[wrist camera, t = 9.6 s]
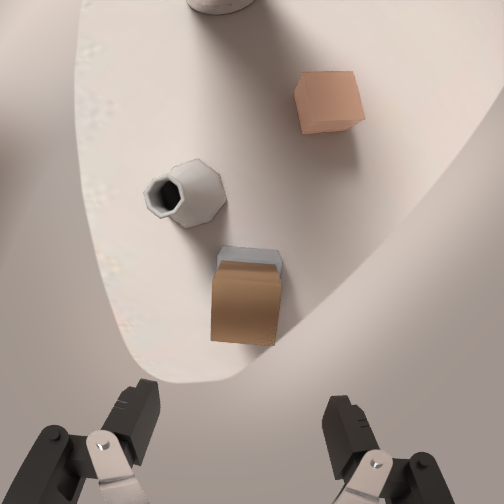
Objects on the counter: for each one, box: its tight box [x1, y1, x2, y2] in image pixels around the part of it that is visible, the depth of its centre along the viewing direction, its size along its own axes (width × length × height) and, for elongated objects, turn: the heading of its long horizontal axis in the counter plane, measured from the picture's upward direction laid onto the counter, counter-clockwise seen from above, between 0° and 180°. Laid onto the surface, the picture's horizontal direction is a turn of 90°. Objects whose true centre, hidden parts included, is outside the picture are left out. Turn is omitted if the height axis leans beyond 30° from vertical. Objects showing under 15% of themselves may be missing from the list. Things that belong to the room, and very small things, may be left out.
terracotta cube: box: [294, 71, 365, 134], centre depth 24 cm, size 5×5×6 cm
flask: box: [143, 159, 226, 229], centre depth 24 cm, size 7×7×10 cm
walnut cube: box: [211, 260, 282, 346], centre depth 23 cm, size 5×5×6 cm
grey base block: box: [216, 246, 282, 277], centre depth 29 cm, size 6×6×5 cm
